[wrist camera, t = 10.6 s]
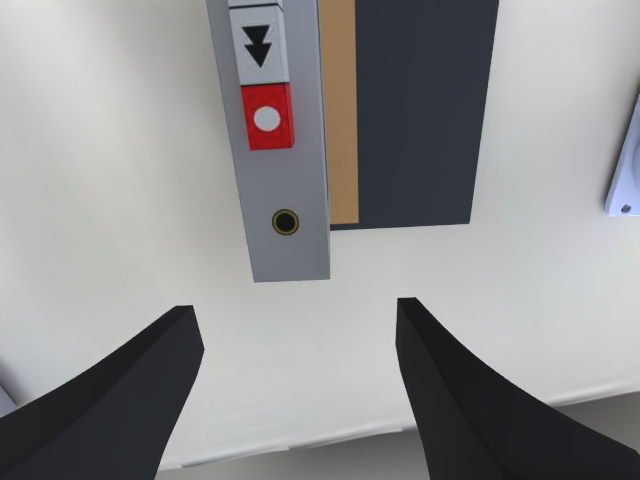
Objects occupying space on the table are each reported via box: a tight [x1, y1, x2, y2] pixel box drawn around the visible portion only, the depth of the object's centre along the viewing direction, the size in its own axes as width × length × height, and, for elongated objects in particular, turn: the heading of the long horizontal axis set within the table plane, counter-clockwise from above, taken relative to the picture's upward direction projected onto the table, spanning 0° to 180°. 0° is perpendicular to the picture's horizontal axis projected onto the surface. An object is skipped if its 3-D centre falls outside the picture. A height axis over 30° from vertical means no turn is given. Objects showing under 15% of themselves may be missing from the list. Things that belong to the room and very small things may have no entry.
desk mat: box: [319, 0, 499, 231], centre depth 17 cm, size 13×20×1 cm, turn 4°
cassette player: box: [206, 0, 330, 282], centre depth 12 cm, size 16×3×10 cm, turn 4°
